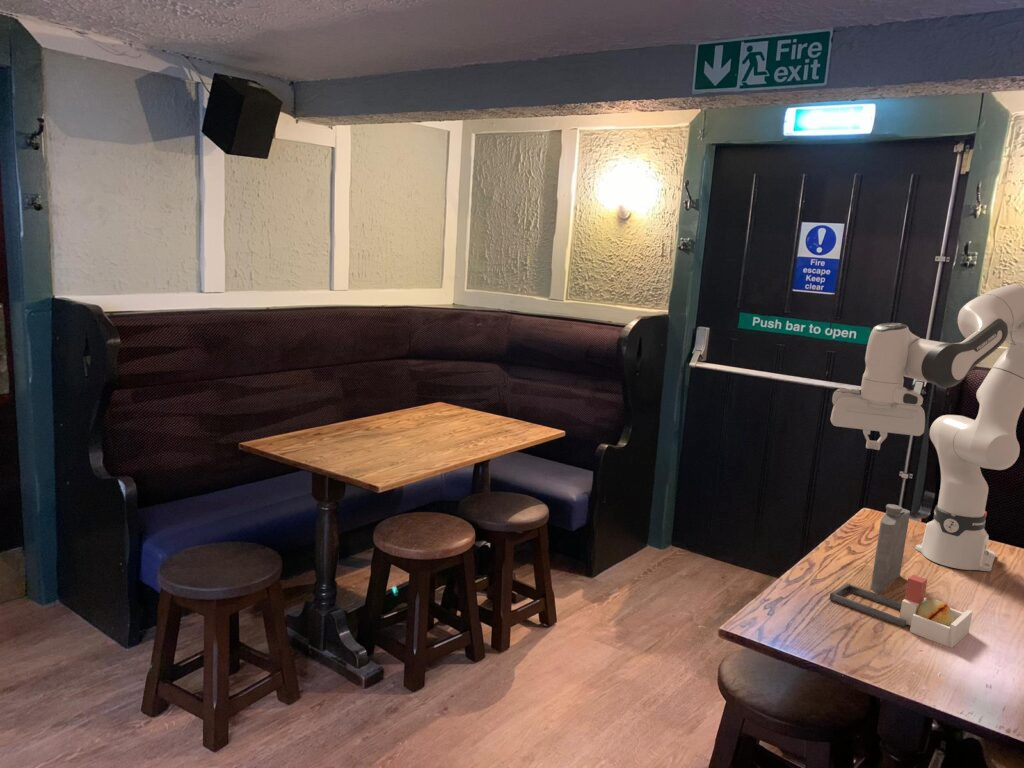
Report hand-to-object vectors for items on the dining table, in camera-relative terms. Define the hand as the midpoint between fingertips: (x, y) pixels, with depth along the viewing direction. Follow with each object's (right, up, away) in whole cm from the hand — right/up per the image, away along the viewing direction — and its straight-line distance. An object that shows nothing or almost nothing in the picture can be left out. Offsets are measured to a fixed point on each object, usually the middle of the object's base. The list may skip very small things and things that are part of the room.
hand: (872, 448), depth 186 cm
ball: (+7, -39, -14) cm, 42 cm away
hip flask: (+7, -35, +10) cm, 37 cm away
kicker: (+4, -38, -11) cm, 40 cm away
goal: (+8, -39, -15) cm, 43 cm away
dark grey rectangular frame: (-2, -37, -5) cm, 37 cm away
